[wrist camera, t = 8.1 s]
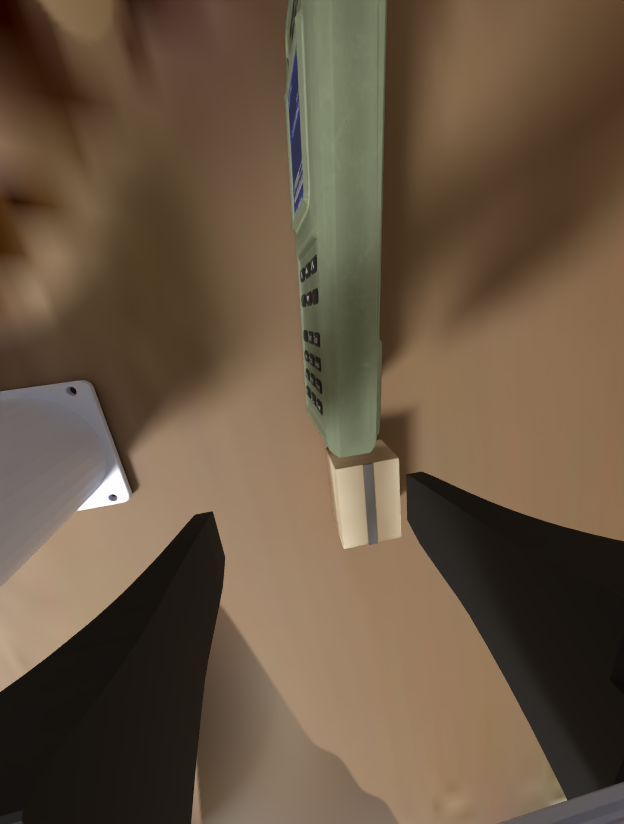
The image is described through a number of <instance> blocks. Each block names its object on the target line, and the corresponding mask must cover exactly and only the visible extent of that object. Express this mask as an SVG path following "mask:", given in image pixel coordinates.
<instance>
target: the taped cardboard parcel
mask: <svg viewBox="0 0 624 824" xmlns="http://www.w3.org/2000/svg"><path fill="white" fill-rule="evenodd" d="M326 454H327V463H328V471H329V480H330V489H331V497H332V506H333V515H334V521H335V524H336V527H337V530H338V533H339V536H340V539H341V542H342V545H343V548H344V549H347V548H351V547H356V546H361V545H365V544H369V545H371V544H376V543H378V542H379V541H384V540H389V539H394V538H398V537H401V516H400V482H399V458H398V457H397V456H396V455H395V454H394V453H393V451H392V450H391V449H390V448H389V447H388V446H387V445H386V444H385V443H384V442H383V441H382V440H381V439H380V440H377V441H376V445H375V447H374V449H373V451H371V452H370V453H366V454H360V455H354V456H348V457H342V458H339V457H338V456H336V455H335V454H333V453H332V452H331V451H330V450H329V448H328V449H326Z"/></svg>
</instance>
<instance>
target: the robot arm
mask: <svg viewBox="0 0 624 824" xmlns="http://www.w3.org/2000/svg"><path fill="white" fill-rule="evenodd" d="M71 387H73V388H75V389H76V391H77V393H76V394H74V393H72V392H71V389H70V388H71ZM406 482H407V520H408V522H409V524H410V526H411V528H412V530H413V532H414V534H415V535H416V537H417V539H418V541H419V543H420V544H421V546H422V547H423V549H424V550H425V552H426V553H427V555H428V556H429V557H430V559H431V560H432V562H433V563H434V565H435V566H436V567H437V569H438V570H439V572H440V573H441V574H442V576H443V577H444V579H445V580H446V582H447V583H448V584H449V586H450V587H451V589H452V590H453V591H454V593H455V594H456V596H457V597H458V599H459V600H460V601H461V603H462V605H463V606H464V608H465V609H466V611H467V612H468V614H469V615H470V617H471V619H472V621H473V622H474V624H475V626H476V627H477V629H478V631H479V633H480V634H481V636H482V638H483V639H484V641H485V643H486V645H487V646H488V648H489V650H490V652H491V654H492V655H493V657H494V659H495V661H496V663H497V664H498V666H499V668H500V670H501V672H502V673H503V675H504V677H505V679H506V681H507V682H508V684H509V686H510V688H511V690H512V692H513V694H514V696H515V697H516V699H517V701H518V703H519V705H520V707H521V709H522V711H523V713H524V715H525V716H526V718H527V720H528V722H529V724H530V726H531V728H532V730H533V732H534V734H535V736H536V738H537V740H538V742H539V744H540V746H541V748H542V750H543V752H544V754H545V756H546V758H547V760H548V762H549V764H550V766H551V768H552V770H553V772H554V774H555V776H556V778H557V780H558V782H559V784H560V786H561V788H562V790H563V792H564V794H565V796H566V798H567V801H564V802H561V803H558V804H555V805H552V806H549V807H546V808H543V809H540V810H537V811H534V812H531V813H528V814H525V815H522V816H519V817H516V818H513V819H510V820H507V821H504V822H501V823H498V824H624V541H620V540H615V539H610V538H606V537H602V536H597V535H593V534H589V533H585V532H581V531H578V530H574V529H570V528H566V527H562V526H559V525H556V524H552V523H549V522H545V521H542V520H539V519H536V518H533V517H530V516H527V515H524V514H521V513H518V512H516V511H513V510H510V509H507V508H505V507H502V506H500V505H497V504H495V503H492V502H490V501H487V500H485V499H483V498H480V497H478V496H476V495H473V494H471V493H469V492H466V491H464V490H462V489H460V488H458V487H455V486H453V485H451V484H449V483H447V482H445V481H442V480H440V479H438V478H436V477H434V476H431V475H429V474H427V473H424V472H417V473H412V474H407V475H406ZM112 494H115V495H116V496H117V498H115V497H113V496H112ZM131 496H132V491H131V488H130V486H129V483H128V480H127V477H126V475H125V472H124V469H123V466H122V464H121V461H120V458H119V455H118V453H117V450H116V447H115V444H114V442H113V439H112V436H111V433H110V431H109V428H108V425H107V422H106V420H105V417H104V414H103V411H102V409H101V406H100V403H99V400H98V398H97V395H96V392H95V389H94V387H93V385H92V384H91V383H90V382H88V381H86V380H79V381H71V382H64V383H57V384H50V385H42V386H35V387H28V388H21V389H13V390H6V391H0V587H1V586H2V585H3V584H4V583H5V582H6V581H7V580H8V579H9V578H10V577H11V576H12V575H13V574H14V573H15V572H16V571H17V570H18V569H19V568H20V567H21V566H22V565H23V564H24V563H25V562H26V561H27V560H28V559H29V558H30V557H31V556H32V555H33V554H34V553H35V552H36V551H37V550H38V549H39V548H40V547H41V546H42V545H43V544H44V543H45V542H46V541H47V540H48V539H49V538H50V537H51V536H52V535H53V534H54V533H55V532H56V531H57V530H58V529H59V528H60V527H61V526H62V525H63V524H64V523H65V522H66V521H67V520H68V519H69V518H70V517H71V516H72V515H73V514H74V513H75V512H76V511H80V510H85V509H91V508H96V507H102V506H107V505H113V504H118V503H124V502H127V501H128V500H129V499H130V498H131ZM224 566H225V555H224V551H223V548H222V544H221V540H220V537H219V533H218V529H217V525H216V522H215V518H214V514H213V511H212V512H207V513H202V514H196V515H194V516H193V518H192V519H191V520H190V521H189V522H188V523H187V524H186V525H185V527H184V528H183V529H182V530H181V531H180V532H179V534H178V535H177V536H176V537H175V538H174V539H173V540H172V542H171V543H170V544H169V545H168V546H167V547H166V548H165V549H164V551H163V552H162V553H161V554H160V555H159V556H158V557H157V558H156V560H155V561H154V562H153V563H152V564H151V565H150V566H149V567H148V568H147V569H146V570H145V571H144V572H143V573H142V574H141V575H140V576H139V577H138V578H137V579H136V580H135V581H134V582H133V583H132V584H131V585H130V586H129V587H128V588H127V589H126V590H125V591H124V592H123V593H122V594H121V595H120V596H119V597H118V598H117V599H116V600H115V601H114V602H113V603H112V604H110V605H109V606H108V607H107V608H106V609H105V610H104V611H103V612H102V613H100V614H99V615H98V616H97V617H96V618H95V619H94V620H92V621H91V622H90V623H89V624H88V625H87V626H85V627H84V628H83V629H82V630H80V631H79V632H78V633H77V634H76V635H74V636H73V637H72V638H71V639H69V640H68V641H67V642H66V643H64V644H63V645H62V646H61V647H60V648H58V649H57V650H56V651H55V652H53V653H52V654H51V655H50V656H48V657H47V658H46V659H45V660H43V661H42V662H41V663H39V664H38V665H37V666H35V667H34V668H33V669H31V670H30V671H29V672H27V673H26V674H25V675H23V676H22V677H21V678H19V679H18V680H16V681H15V682H14V683H12V684H11V685H10V686H8V687H7V688H5V689H4V690H3V691H1V692H0V824H191V817H192V805H193V793H194V781H195V769H196V759H197V749H198V739H199V729H200V719H201V710H202V702H203V693H204V684H205V676H206V670H207V664H208V659H209V653H210V648H211V644H212V639H213V634H214V629H215V624H216V619H217V614H218V609H219V604H220V599H221V594H222V588H223V579H224Z"/></svg>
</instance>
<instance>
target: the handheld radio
mask: <svg viewBox="0 0 624 824" xmlns="http://www.w3.org/2000/svg"><path fill="white" fill-rule="evenodd" d="M386 32H387V0H289V1H288V10H287V19H286V28H285V51H286V72H287V85H286V92H285V96H284V101H285V112H286V129H287V145H288V162H289V179H290V196H291V213H292V229H293V230H294V231H295V237H296V254H297V262H298V278H299V294H300V311H301V327H302V343H303V359H304V375H305V392H306V408H307V412H308V414H309V415H310V417H311V419H312V421H313V422H314V424H315V426H316V427H317V429H318V431H319V433H320V434H321V436H322V438H323V440H324V441H325V443H326V445H327V446H328V448H329V450H330V451H331V452H332V453H333V454H335V455H336V456H338V457H339V458H342V457H348V456H354V455H360V454H366V453H370V452H371V451H373V449H374V447H375V445H376V441H377V435H378V434H379V430H380V413H381V375H382V341H381V340H380V339H379V335H380V291H381V248H382V205H383V161H384V118H385V75H386Z"/></svg>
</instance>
